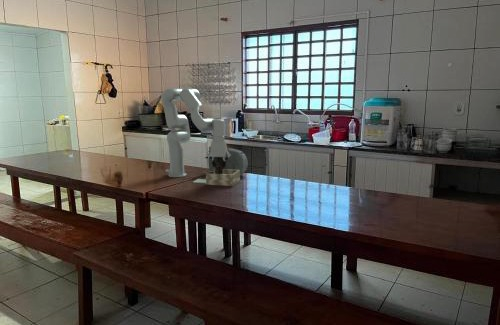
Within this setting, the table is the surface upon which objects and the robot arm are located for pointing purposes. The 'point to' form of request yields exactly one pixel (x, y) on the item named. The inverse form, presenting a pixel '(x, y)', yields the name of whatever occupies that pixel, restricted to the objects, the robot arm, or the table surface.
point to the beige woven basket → (223, 178)
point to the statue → (219, 165)
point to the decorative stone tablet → (232, 161)
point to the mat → (200, 181)
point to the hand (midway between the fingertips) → (219, 166)
